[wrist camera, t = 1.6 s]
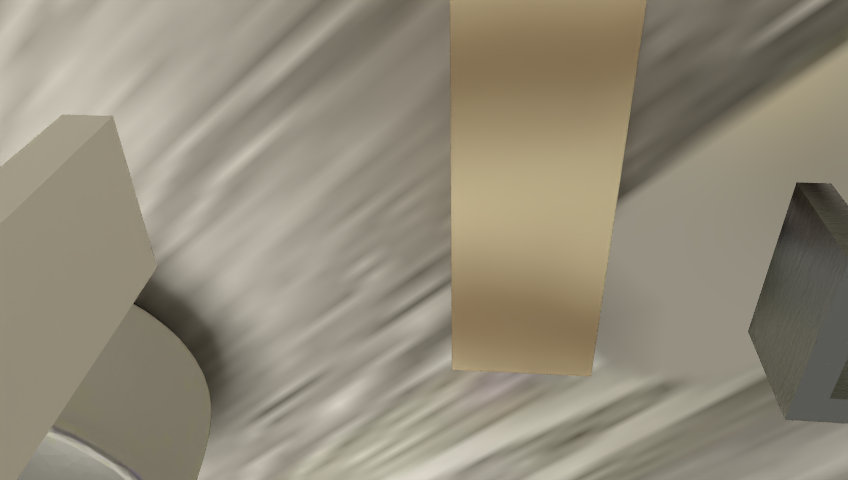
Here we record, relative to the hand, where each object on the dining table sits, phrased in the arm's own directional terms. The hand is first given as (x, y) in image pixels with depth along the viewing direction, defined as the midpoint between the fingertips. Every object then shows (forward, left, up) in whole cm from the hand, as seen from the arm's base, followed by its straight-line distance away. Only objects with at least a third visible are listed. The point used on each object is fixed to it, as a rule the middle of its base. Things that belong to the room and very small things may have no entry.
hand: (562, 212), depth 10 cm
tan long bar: (0, 0, -11) cm, 11 cm away
